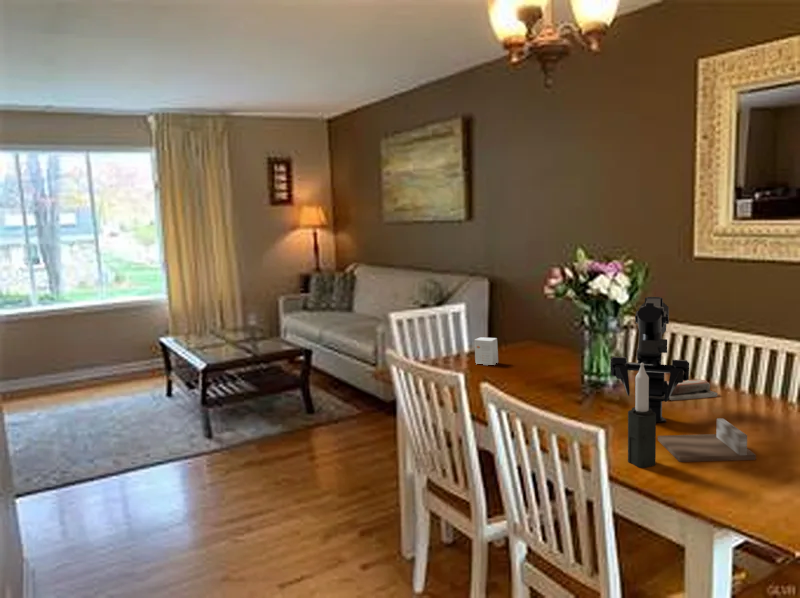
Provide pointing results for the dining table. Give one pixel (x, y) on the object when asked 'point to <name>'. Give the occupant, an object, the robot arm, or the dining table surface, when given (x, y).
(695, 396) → the packaged product
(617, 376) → the robot arm
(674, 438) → the shelf board
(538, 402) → the dining table surface
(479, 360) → the small box
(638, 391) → the candle
